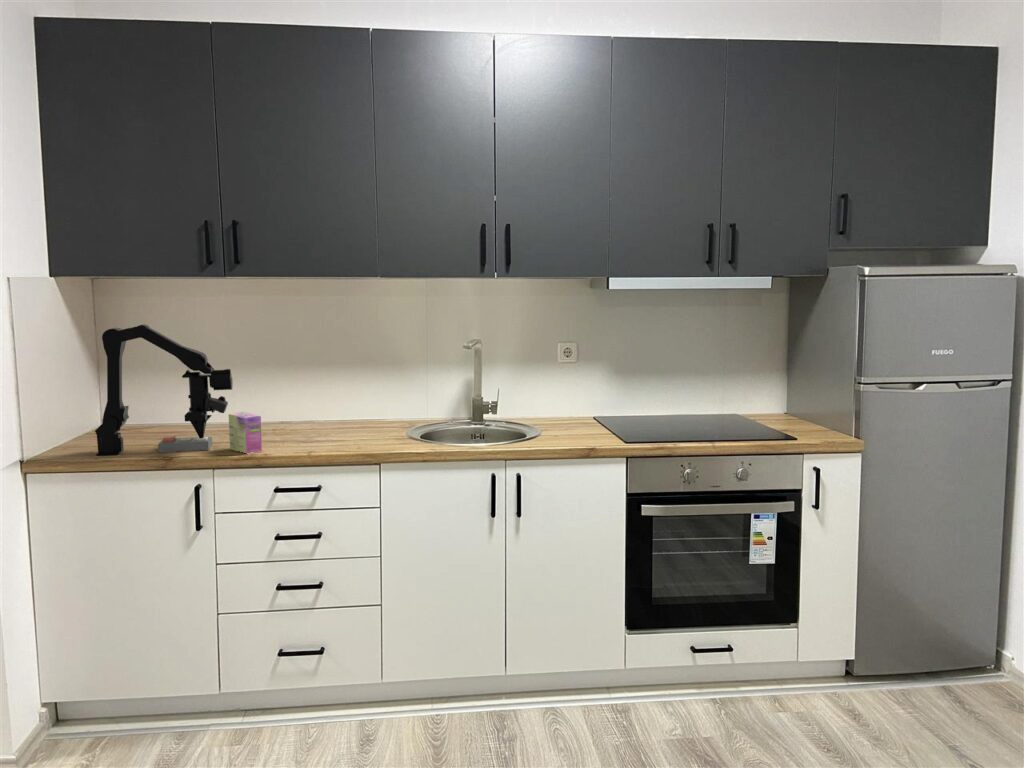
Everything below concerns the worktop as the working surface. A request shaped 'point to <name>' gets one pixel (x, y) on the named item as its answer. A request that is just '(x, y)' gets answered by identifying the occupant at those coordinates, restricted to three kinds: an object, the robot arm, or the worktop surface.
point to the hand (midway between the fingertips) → (201, 438)
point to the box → (245, 432)
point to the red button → (169, 439)
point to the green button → (185, 439)
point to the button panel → (185, 445)
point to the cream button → (201, 438)
